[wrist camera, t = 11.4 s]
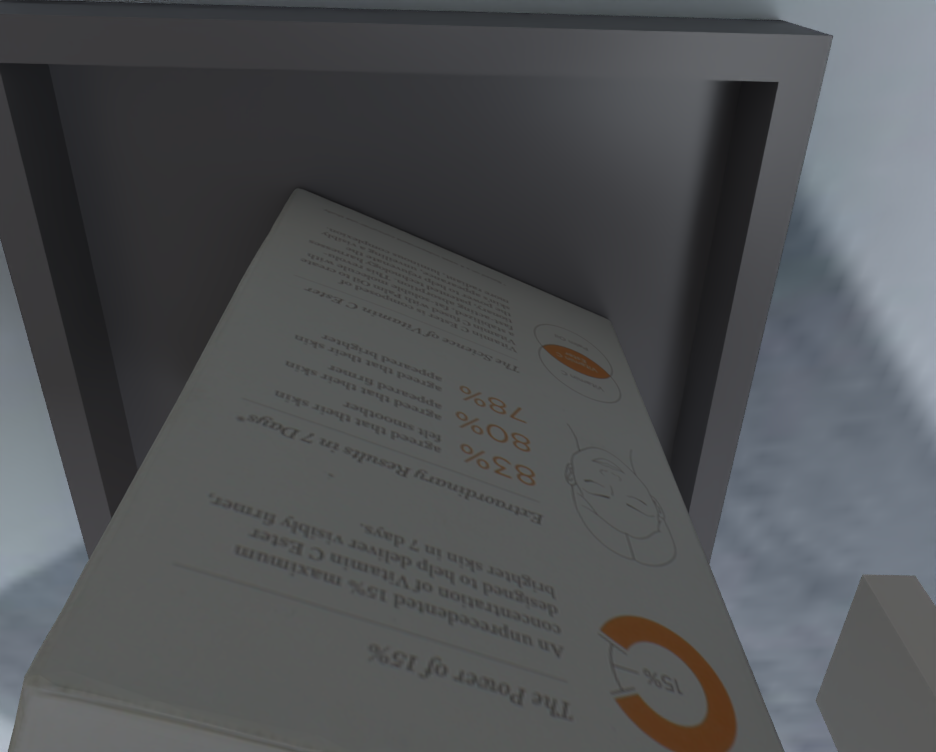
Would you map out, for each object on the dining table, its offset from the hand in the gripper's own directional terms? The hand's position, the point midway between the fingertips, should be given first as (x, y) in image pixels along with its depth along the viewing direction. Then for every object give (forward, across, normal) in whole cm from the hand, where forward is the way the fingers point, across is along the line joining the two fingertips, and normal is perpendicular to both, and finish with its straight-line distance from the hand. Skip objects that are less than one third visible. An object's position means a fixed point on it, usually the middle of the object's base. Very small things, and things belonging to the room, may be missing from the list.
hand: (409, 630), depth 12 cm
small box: (+9, 0, 0) cm, 9 cm away
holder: (+9, -1, 0) cm, 9 cm away
